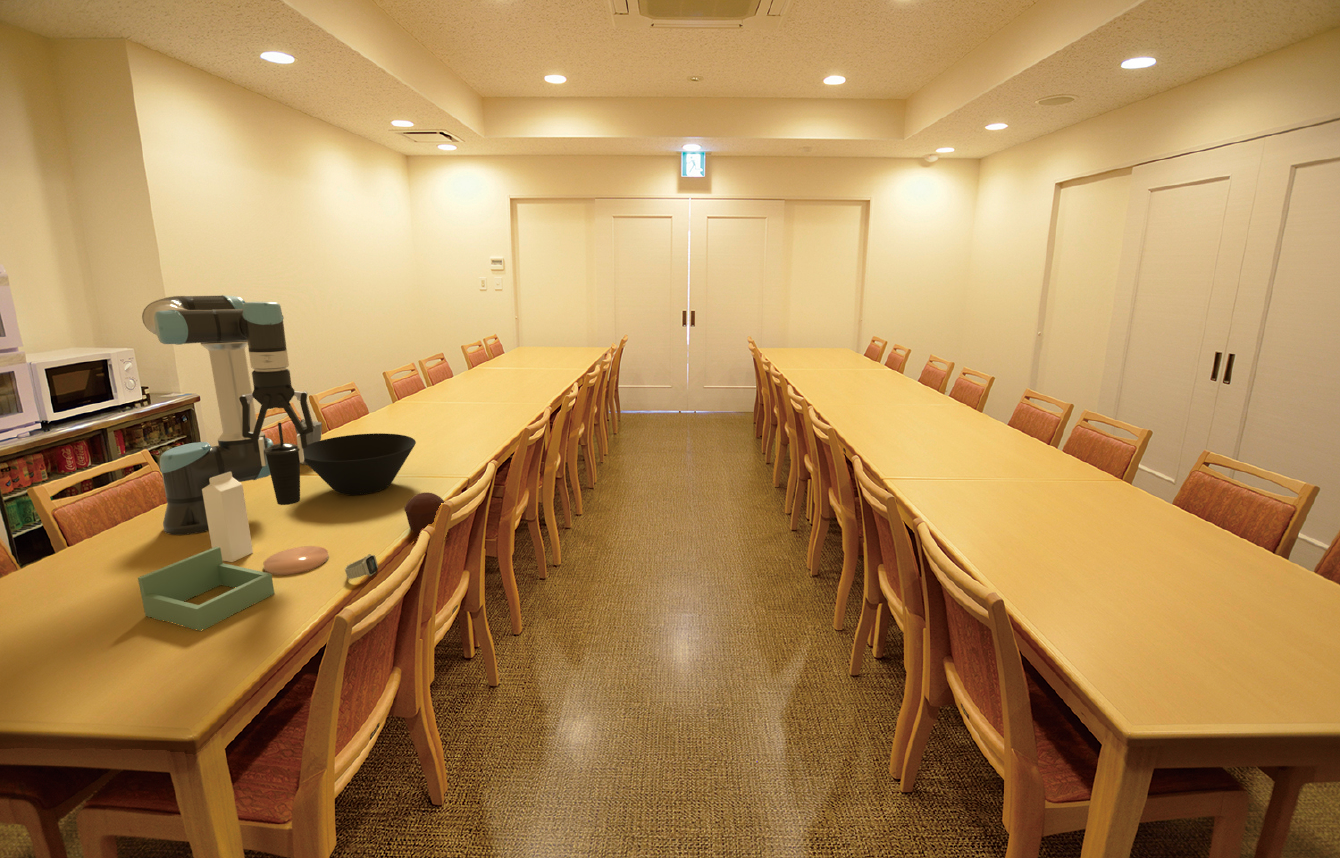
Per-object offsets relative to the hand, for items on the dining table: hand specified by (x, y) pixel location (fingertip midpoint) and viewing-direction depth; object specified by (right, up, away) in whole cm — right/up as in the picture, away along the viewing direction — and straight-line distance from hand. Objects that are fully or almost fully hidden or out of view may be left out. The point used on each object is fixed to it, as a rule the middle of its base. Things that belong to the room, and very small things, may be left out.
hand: (283, 462), depth 149 cm
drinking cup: (0, -10, +2) cm, 10 cm away
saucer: (-1, -26, +6) cm, 26 cm away
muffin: (+23, -21, +29) cm, 43 cm away
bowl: (-11, -12, +61) cm, 63 cm away
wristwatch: (+19, -28, +1) cm, 33 cm away
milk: (-19, -25, +9) cm, 32 cm away
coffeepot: (-46, -5, +91) cm, 102 cm away
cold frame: (-7, -30, -14) cm, 34 cm away
